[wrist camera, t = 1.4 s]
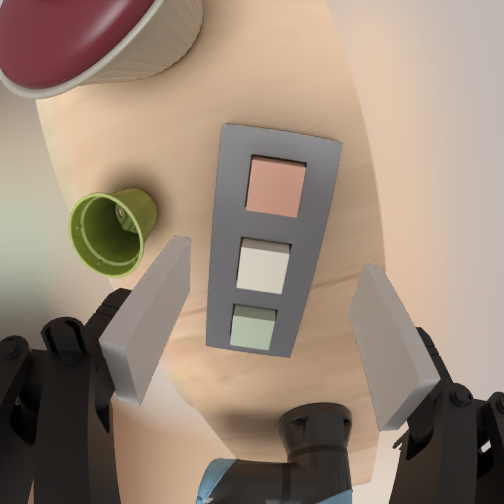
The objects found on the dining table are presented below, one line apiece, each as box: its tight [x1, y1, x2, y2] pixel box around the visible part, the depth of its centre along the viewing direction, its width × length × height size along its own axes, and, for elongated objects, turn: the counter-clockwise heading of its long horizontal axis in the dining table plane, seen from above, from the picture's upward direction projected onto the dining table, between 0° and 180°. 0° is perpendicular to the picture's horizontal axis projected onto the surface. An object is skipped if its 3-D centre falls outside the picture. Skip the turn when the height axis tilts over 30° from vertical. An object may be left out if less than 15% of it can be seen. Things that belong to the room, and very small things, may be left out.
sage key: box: [230, 304, 275, 350], centre depth 36 cm, size 5×5×3 cm
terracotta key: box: [246, 156, 306, 218], centre depth 28 cm, size 5×5×3 cm
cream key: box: [237, 237, 290, 294], centre depth 32 cm, size 5×5×3 cm
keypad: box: [206, 124, 343, 358], centre depth 34 cm, size 29×12×3 cm, turn 173°
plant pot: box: [68, 188, 157, 278], centre depth 31 cm, size 9×9×9 cm
